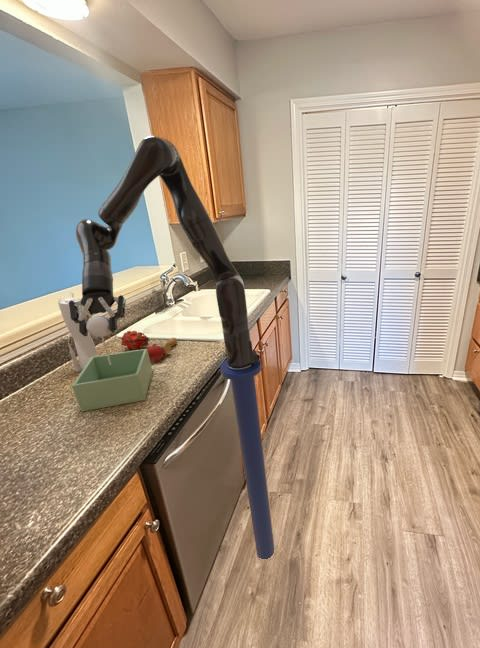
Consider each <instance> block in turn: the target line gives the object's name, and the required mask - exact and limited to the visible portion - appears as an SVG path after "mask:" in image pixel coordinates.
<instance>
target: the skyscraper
mask: <svg viewBox="0 0 480 648" xmlns="http://www.w3.org/2000/svg"><path fill="white" fill-rule="evenodd" d="M68 295H69V296H70V295H71V297H70V298H65V299H64V300H63V301H61V300H62V299H63V298H64V297H66V296H68ZM74 295H75V293H74V292H67V293H65V294H63V295H61V296H60V298H59V299H58V301H57V304H58V307H59V310H60V313H61V316H62V318H63V321H64V324H65V326H66V328H67V330H68V332H69V334H70V335H71V337H72V338H73V343H74V346H75V347H74V348H75V350H76V352H75V350H73V348H72V345H71V343H70V340H69V339H67V340H66V341H67V346H68V348H69V354H70V356H71V361H72V365H73V367H74V370H75V371H74V373H76V374H77V373H78V374H80V373H81V372H82V370H83V369H84V367H85V366H86V364H87V363H88V361H89V360H90V359H91V357H94V356H100V355H99V351H98V349H97V347H96V345H95V342H94V340H93V338H92V335H91V334H90V333H89V332H88V336H83V335H82V334H81V333H80V332H79V323H75V322H74V321H73V320H72V319H71V315H70V308H69V302H70V301H74V302H77V301H81V299H82V298H74ZM83 308H84V306H83V305H81V306H80V310H78V311H79V317H80V315H81V314H82V310H83ZM75 353H76V354H77V355H76V354H75Z"/></svg>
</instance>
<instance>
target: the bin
mask: <svg viewBox="0 0 480 648" xmlns="http://www.w3.org/2000/svg"><path fill="white" fill-rule="evenodd" d="M147 349H148V348H144V349H141V350H138V349H134V350H127V351H122V352H121V351H120V352H115V353H108V354H109V358H110V361H111V365H110V364H109V361H108V358H107V354H101V355H99V356H94V357H91V359H90V360H89V361H88V363H87V364H86V366H85V367H84V369H83V370H82V372H79V375H78V376H77V377H76V379H75V380H74V382H73V383H72V385H71V388H72V390H73V393H74V396H75V399H76V402H77V404H78V406H79V410H80V411H81V412H87V411H93V410H98V409H103V408H108V407H114V406H119V405H124V404H131V403H137V402H140V401H141V402H142V401H145V400H146V397H147V393H148V390H149V385H150V382H151V379H152V375H153V371H154V370H153V367H152V363H151V360H150V358H149V355H148V351H147Z"/></svg>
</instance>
